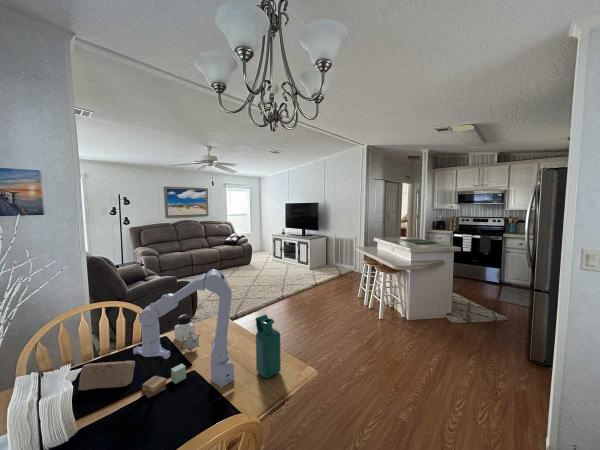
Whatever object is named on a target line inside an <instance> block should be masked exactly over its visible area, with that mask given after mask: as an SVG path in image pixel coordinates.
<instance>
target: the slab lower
mask: <svg viewBox="0 0 600 450" xmlns="http://www.w3.org/2000/svg"><path fill="white" fill-rule="evenodd" d="M166 389H167V388H166V384H165V385H164V386H162V387H161V388H160V389H158V390H157V391H156V392H155V393H151V392H148V391H145V390H143V389H142V392H143V393H144V394H145V396H146V397H147V399H150V398H151V397H154V396H155V395H157V394H159V393H161V391H162V392H164V391H165V390H166Z"/></svg>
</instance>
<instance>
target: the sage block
mask: <svg viewBox="0 0 600 450" xmlns="http://www.w3.org/2000/svg"><path fill="white" fill-rule="evenodd" d="M186 368H187V367H186V365H184V363H180V364H178V365H176V366H174V367H173V368H170V373H171V374H170V379H171V382H172V383H174V384H175V385H176V384H178V383H180V382H181V381H184V380H186V379H187V369H186Z"/></svg>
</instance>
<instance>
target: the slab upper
mask: <svg viewBox="0 0 600 450" xmlns="http://www.w3.org/2000/svg"><path fill="white" fill-rule="evenodd" d="M164 385H165V386H166V385H167V378H165V377H162V376H160V375H157V376H155V375H154V376H152V377H151V378H149V379H148V380H146V381H145V382H143V383H142V391H143V390H145V391H148V392H151V393H155V392H156V391H157V390H158V389H160V388H161V387H162V386H164Z"/></svg>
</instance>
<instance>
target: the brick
mask: <svg viewBox="0 0 600 450" xmlns="http://www.w3.org/2000/svg"><path fill="white" fill-rule="evenodd" d="M135 367H136V361H135V360H124V361H109V362H108V361H107V362H106V361H105V362H97V363H87V364H84V365H83V366H82V368H81V371H80V376H79V382H78V390H79V391H87V390H94V389H107V388H121V387H126V386H128V385H130V384H131V383H132V381H133V378H134V372H135Z"/></svg>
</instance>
